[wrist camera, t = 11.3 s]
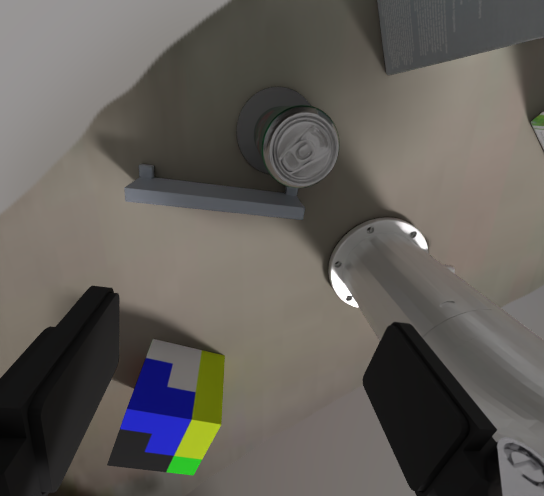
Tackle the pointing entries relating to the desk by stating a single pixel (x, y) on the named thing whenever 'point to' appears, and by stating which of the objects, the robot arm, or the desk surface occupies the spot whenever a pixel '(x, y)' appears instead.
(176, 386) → the puzzle toy
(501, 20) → the hard drive box
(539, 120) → the syrup box
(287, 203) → the divider
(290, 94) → the coaster
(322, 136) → the soda can
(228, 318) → the desk surface
